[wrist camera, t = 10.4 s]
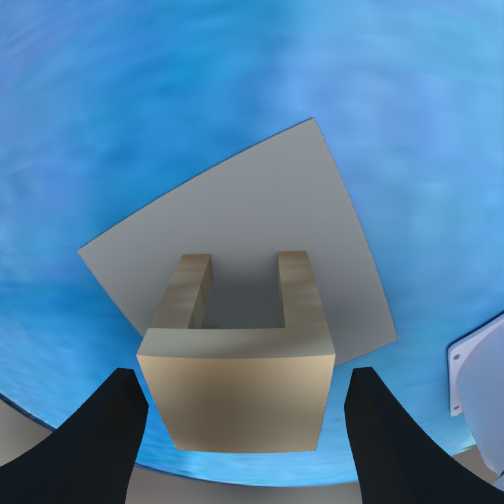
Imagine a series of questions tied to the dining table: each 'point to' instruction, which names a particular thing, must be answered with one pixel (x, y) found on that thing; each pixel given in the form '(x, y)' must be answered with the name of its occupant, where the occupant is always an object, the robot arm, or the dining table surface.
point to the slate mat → (253, 243)
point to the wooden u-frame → (240, 366)
